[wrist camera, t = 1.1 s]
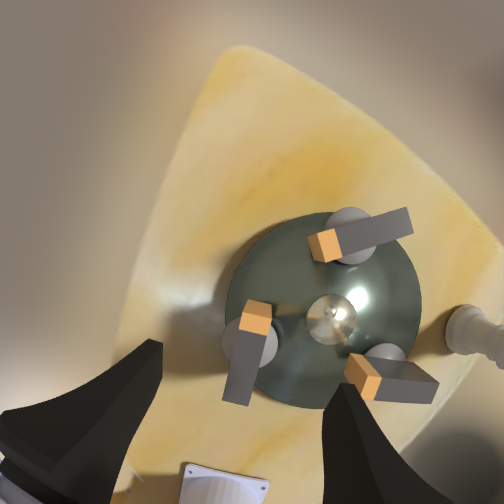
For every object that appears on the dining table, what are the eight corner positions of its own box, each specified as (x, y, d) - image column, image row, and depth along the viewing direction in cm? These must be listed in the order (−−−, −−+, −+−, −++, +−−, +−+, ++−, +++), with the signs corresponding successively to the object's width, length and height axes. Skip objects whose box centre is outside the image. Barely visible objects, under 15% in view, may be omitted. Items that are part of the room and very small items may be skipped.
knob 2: (374, 199, 21) (400, 187, 16) (389, 252, 21) (419, 252, 16) (301, 220, 21) (310, 212, 16) (317, 276, 21) (331, 283, 16)
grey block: (416, 347, 20) (446, 366, 16) (400, 392, 20) (424, 418, 16) (353, 336, 21) (374, 357, 16) (337, 385, 21) (352, 415, 16)
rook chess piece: (434, 341, 22) (487, 371, 14) (457, 294, 21) (517, 309, 13) (463, 358, 21) (515, 387, 13) (485, 314, 21) (541, 332, 13)
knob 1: (268, 379, 21) (267, 410, 16) (215, 367, 21) (202, 395, 17) (287, 307, 21) (292, 323, 16) (232, 294, 21) (221, 306, 16)
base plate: (381, 410, 22) (390, 423, 19) (209, 381, 23) (203, 393, 20) (432, 241, 22) (447, 240, 19) (252, 193, 22) (251, 187, 20)
